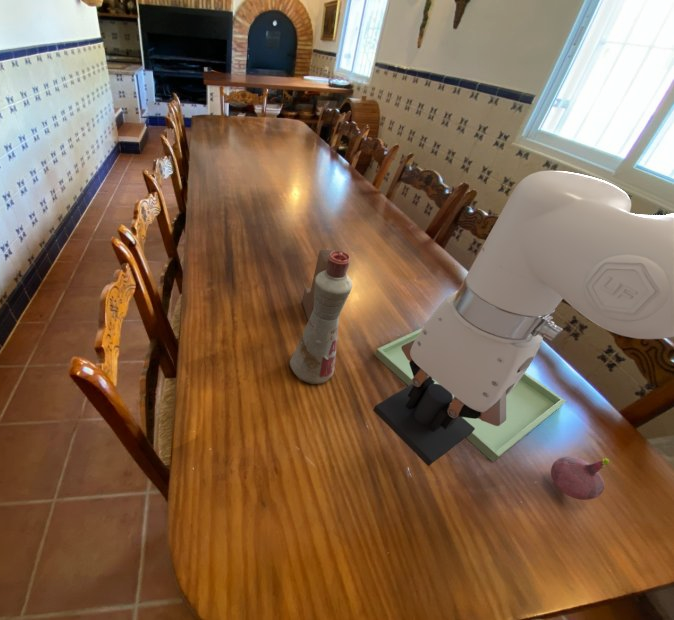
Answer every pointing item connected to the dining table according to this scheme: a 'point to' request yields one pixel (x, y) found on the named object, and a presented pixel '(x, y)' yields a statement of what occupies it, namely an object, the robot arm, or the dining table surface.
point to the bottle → (323, 322)
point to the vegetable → (578, 477)
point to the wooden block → (309, 292)
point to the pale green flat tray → (521, 403)
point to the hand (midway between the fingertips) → (426, 413)
